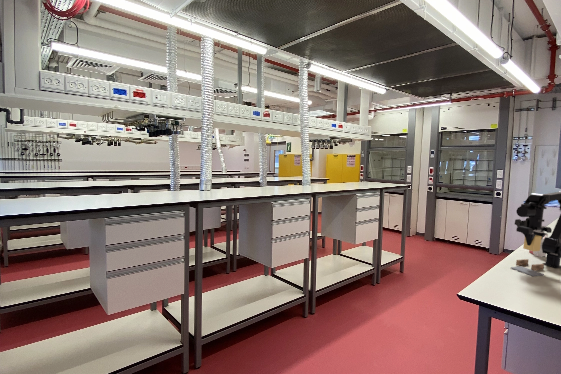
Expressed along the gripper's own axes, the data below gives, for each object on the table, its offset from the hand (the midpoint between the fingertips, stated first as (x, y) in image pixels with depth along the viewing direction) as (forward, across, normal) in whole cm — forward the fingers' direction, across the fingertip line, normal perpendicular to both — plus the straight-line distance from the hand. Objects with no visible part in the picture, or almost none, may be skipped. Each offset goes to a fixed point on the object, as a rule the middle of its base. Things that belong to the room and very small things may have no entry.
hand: (532, 245), depth 162 cm
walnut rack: (+12, 0, 0) cm, 13 cm away
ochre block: (+2, 0, 0) cm, 2 cm away
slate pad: (+13, +9, +4) cm, 16 cm away
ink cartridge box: (+13, -32, -16) cm, 38 cm away
